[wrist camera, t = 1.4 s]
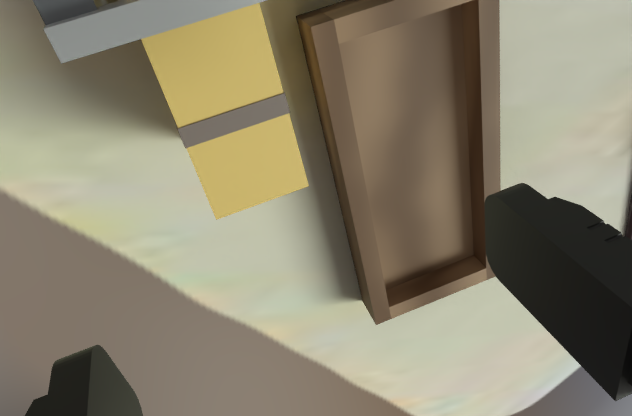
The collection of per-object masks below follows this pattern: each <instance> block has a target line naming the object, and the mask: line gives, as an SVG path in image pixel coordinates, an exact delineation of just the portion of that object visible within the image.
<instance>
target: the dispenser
mask: <svg viewBox="0 0 632 416" xmlns="http://www.w3.org/2000/svg"><path fill="white" fill-rule="evenodd" d="M263 1H266V0H119V1H118V0H33V2H34V4H35V5H36V7H37V9H38V11H39V13H40V15H41V17H42V19H43V21H44V23H45V25H46V26H45V27H44V31H45V33H46V35H47V37H48V39H49V41H50V43H51V45H52V47H53V49H54V50H55V52H56V54H57V56H58V58H59V60H60V62H61V64H62V63H65V62H68V61H71V60H75V59H78V58H81V57H84V56H88V55H91V54H94V53H97V52H101V51H104V50H107V49H110V48H114V47H117V46H120V45H123V44H127V43H130V42H133V41H136V40H140V39H143V38H146V37H149V36H153V35H156V34H159V33H162V32H166V31H169V30H172V29H175V28H179V27H182V26H185V25H188V24H192V23H195V22H198V21H201V20H205V19H208V18H211V17H214V16H218V15H221V14H224V13H227V12H231V11H234V10H237V9H240V8H244V7H247V6H250V5H253V4H257V3H260V2H263Z"/></svg>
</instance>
